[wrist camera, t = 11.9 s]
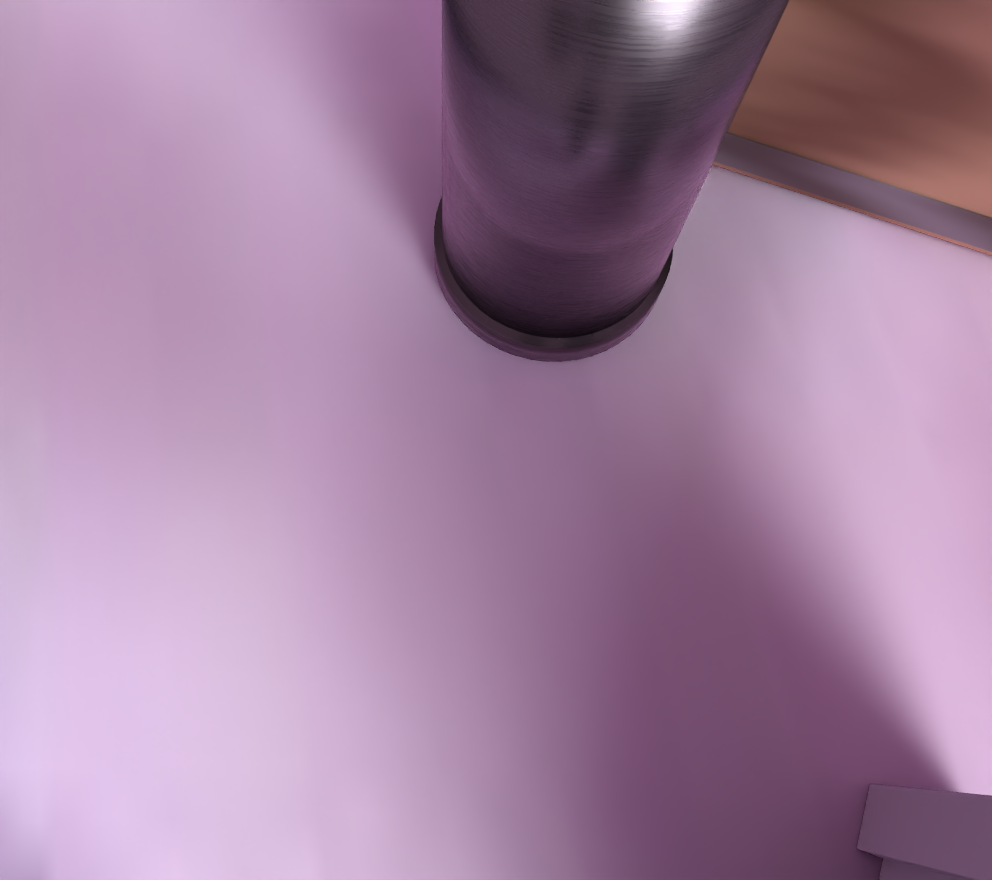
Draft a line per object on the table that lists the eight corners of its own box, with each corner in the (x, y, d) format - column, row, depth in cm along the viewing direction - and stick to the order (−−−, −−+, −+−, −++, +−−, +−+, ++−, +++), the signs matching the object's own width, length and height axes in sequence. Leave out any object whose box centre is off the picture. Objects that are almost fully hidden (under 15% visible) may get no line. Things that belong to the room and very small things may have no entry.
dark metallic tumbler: (588, 405, 23) (748, 46, 11) (389, 281, 24) (332, -184, 12) (704, 228, 25) (954, -253, 13) (515, 117, 26) (579, -439, 14)
